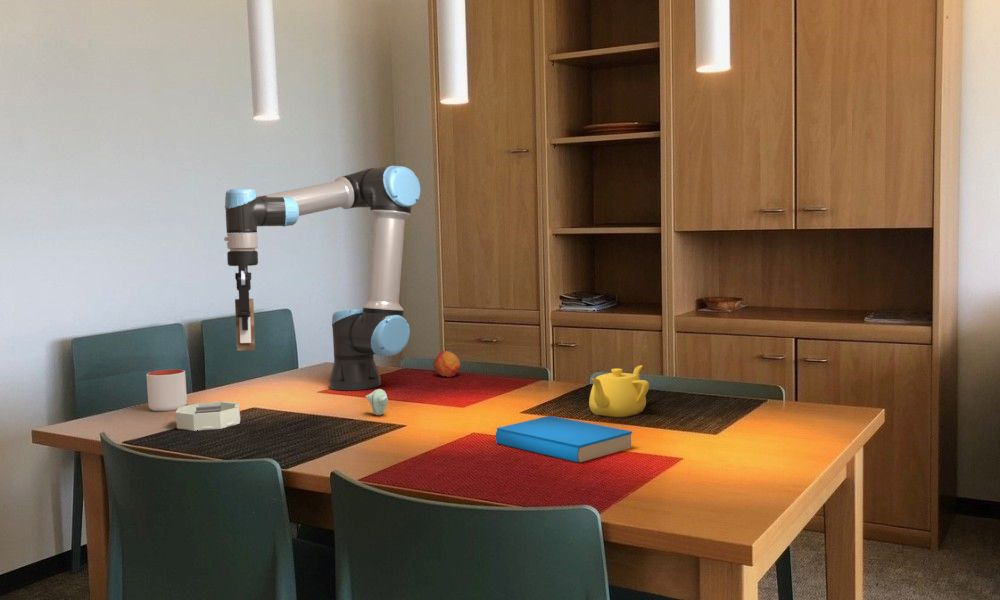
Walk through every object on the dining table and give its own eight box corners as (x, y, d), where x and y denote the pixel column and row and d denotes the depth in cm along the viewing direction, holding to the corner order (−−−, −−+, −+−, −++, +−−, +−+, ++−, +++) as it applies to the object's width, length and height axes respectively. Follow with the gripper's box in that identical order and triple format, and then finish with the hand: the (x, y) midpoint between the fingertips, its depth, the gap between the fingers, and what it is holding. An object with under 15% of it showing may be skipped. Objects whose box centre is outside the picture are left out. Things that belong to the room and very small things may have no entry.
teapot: (624, 424, 231) (623, 379, 230) (570, 417, 242) (569, 373, 241) (673, 408, 248) (672, 365, 247) (621, 401, 258) (620, 360, 257)
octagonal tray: (241, 415, 257) (240, 399, 257) (239, 427, 242) (238, 411, 242) (179, 419, 254) (178, 404, 253) (174, 432, 239) (173, 416, 238)
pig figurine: (363, 414, 252) (362, 388, 252) (376, 412, 255) (375, 386, 254) (382, 418, 247) (381, 392, 246) (395, 416, 249) (394, 389, 249)
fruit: (450, 373, 311) (449, 348, 310) (466, 376, 305) (465, 350, 304) (430, 376, 306) (429, 351, 305) (445, 379, 300) (444, 353, 299)
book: (549, 415, 228) (633, 429, 209) (549, 433, 228) (633, 449, 210) (494, 428, 216) (577, 444, 198) (494, 447, 216) (578, 465, 198)
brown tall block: (255, 348, 254) (253, 298, 253) (255, 349, 252) (253, 299, 251) (237, 349, 253) (235, 299, 252) (236, 350, 251) (234, 299, 250)
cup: (193, 404, 274) (191, 369, 273) (178, 412, 264) (175, 375, 263) (158, 405, 275) (156, 369, 274) (142, 412, 265) (139, 375, 264)
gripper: (227, 249, 257) (231, 339, 259) (226, 251, 242) (229, 346, 244) (257, 249, 259) (260, 338, 261) (257, 250, 244) (261, 344, 246)
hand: (245, 341), depth 253 cm, fingers closed on brown tall block, 2 cm apart
